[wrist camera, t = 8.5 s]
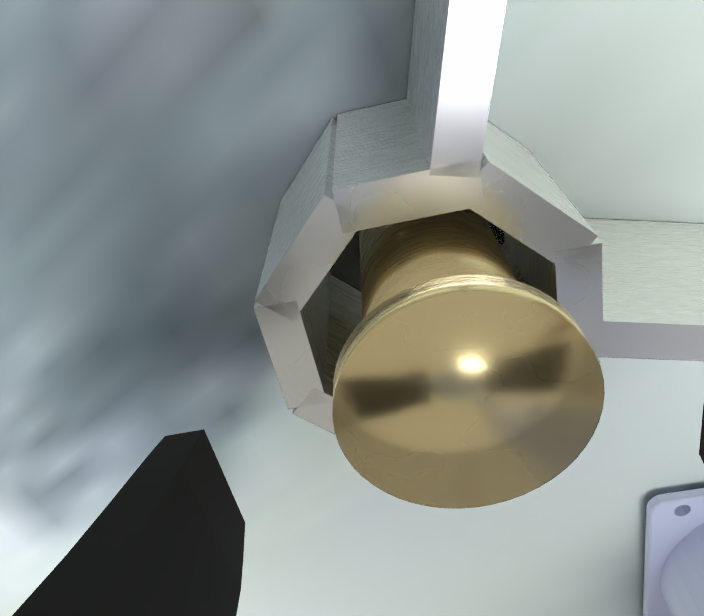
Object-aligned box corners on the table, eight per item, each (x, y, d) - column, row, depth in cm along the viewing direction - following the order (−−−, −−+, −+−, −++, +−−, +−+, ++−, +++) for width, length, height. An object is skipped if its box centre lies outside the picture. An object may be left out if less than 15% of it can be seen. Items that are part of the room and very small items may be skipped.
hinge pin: (491, 126, 15) (608, 273, 8) (501, 276, 17) (601, 490, 10) (324, 155, 15) (306, 319, 9) (353, 299, 17) (356, 522, 10)
